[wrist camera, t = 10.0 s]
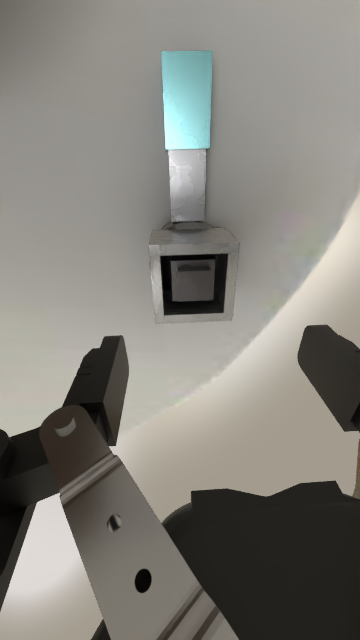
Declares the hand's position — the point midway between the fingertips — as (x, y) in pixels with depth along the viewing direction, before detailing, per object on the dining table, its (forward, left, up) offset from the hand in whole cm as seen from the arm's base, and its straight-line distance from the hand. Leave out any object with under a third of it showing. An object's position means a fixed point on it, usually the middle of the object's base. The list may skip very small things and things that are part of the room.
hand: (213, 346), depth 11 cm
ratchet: (-5, 0, -16) cm, 16 cm away
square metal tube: (0, 0, -13) cm, 13 cm away
